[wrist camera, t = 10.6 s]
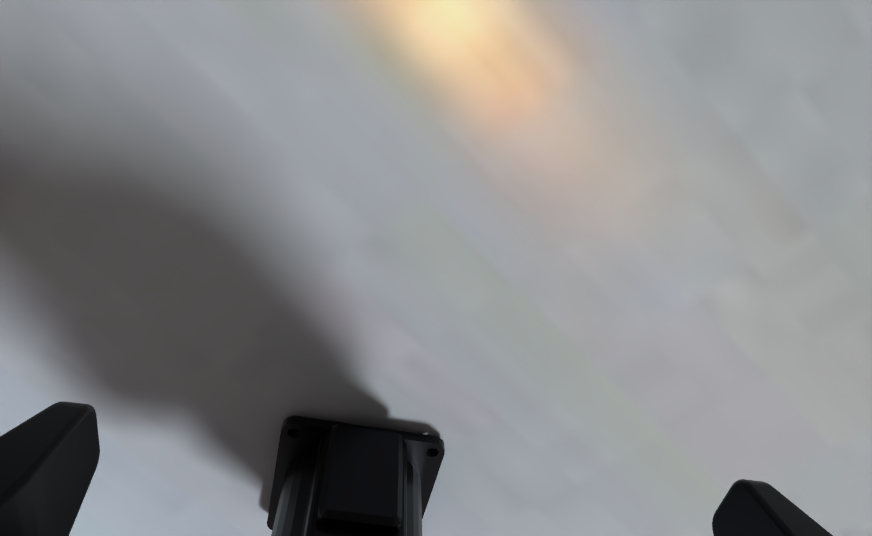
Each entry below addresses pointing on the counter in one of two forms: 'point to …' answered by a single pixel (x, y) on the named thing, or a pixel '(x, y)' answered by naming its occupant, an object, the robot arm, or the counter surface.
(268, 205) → the counter surface
